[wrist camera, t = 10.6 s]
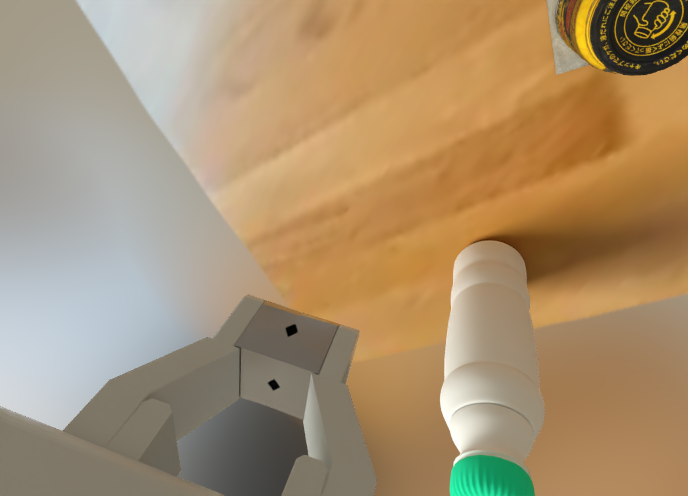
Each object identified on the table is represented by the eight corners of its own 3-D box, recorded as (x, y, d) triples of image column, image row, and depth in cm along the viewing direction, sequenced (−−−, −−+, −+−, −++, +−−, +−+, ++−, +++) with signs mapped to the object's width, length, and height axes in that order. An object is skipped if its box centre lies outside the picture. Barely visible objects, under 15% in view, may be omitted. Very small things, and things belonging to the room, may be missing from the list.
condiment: (542, -29, 30) (569, -29, 20) (689, -88, 26) (806, -121, 17) (555, 74, 33) (584, 117, 23) (688, 34, 29) (786, 65, 20)
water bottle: (466, 298, 47) (452, 543, 27) (444, 247, 44) (411, 478, 24) (533, 284, 44) (574, 552, 24) (514, 229, 41) (541, 478, 21)
